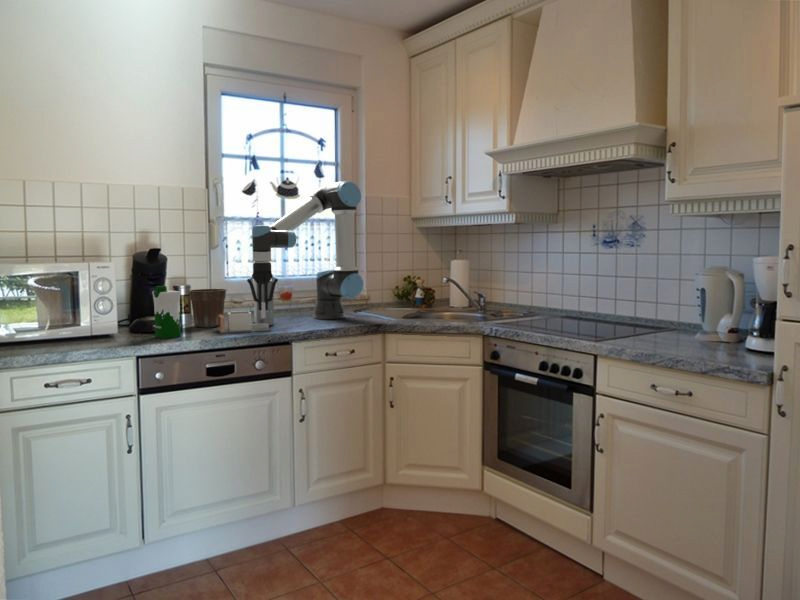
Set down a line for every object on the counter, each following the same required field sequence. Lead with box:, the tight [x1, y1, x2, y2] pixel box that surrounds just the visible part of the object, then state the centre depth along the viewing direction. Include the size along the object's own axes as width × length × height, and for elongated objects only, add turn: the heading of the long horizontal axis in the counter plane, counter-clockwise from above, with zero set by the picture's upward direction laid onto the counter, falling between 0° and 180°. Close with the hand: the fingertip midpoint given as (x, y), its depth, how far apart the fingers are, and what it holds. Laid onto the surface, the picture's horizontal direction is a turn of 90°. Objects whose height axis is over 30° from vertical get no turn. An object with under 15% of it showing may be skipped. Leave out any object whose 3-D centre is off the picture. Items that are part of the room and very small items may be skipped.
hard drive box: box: [253, 279, 275, 326], centre depth 277 cm, size 16×8×20 cm, turn 18°
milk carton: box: [152, 285, 182, 340], centre depth 238 cm, size 9×9×20 cm
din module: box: [227, 310, 253, 331], centre depth 255 cm, size 9×6×8 cm, turn 111°
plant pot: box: [188, 288, 228, 328], centre depth 270 cm, size 16×16×16 cm
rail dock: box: [217, 314, 272, 335], centre depth 256 cm, size 20×12×6 cm, turn 111°
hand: (263, 317), depth 259 cm, fingers closed
